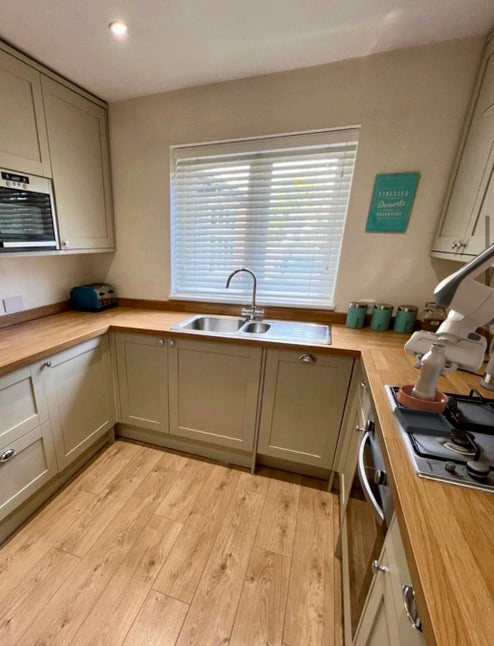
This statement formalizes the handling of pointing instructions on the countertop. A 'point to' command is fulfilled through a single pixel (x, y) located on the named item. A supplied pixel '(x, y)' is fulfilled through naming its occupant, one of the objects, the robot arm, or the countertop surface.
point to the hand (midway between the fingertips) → (429, 371)
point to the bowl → (414, 403)
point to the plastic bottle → (429, 373)
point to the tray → (423, 422)
